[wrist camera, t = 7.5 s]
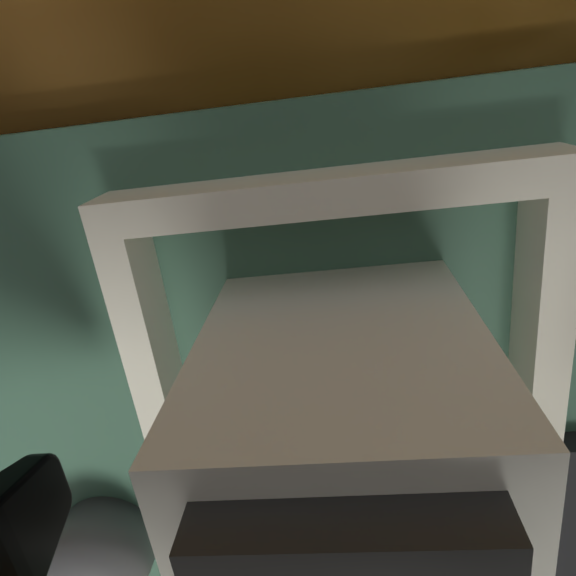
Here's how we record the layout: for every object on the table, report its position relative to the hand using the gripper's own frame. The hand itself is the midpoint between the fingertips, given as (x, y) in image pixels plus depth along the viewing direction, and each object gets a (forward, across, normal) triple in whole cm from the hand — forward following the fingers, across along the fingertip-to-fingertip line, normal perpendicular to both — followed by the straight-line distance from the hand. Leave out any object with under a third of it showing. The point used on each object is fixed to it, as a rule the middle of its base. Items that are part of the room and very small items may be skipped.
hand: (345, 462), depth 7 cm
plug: (+3, 0, 0) cm, 3 cm away
